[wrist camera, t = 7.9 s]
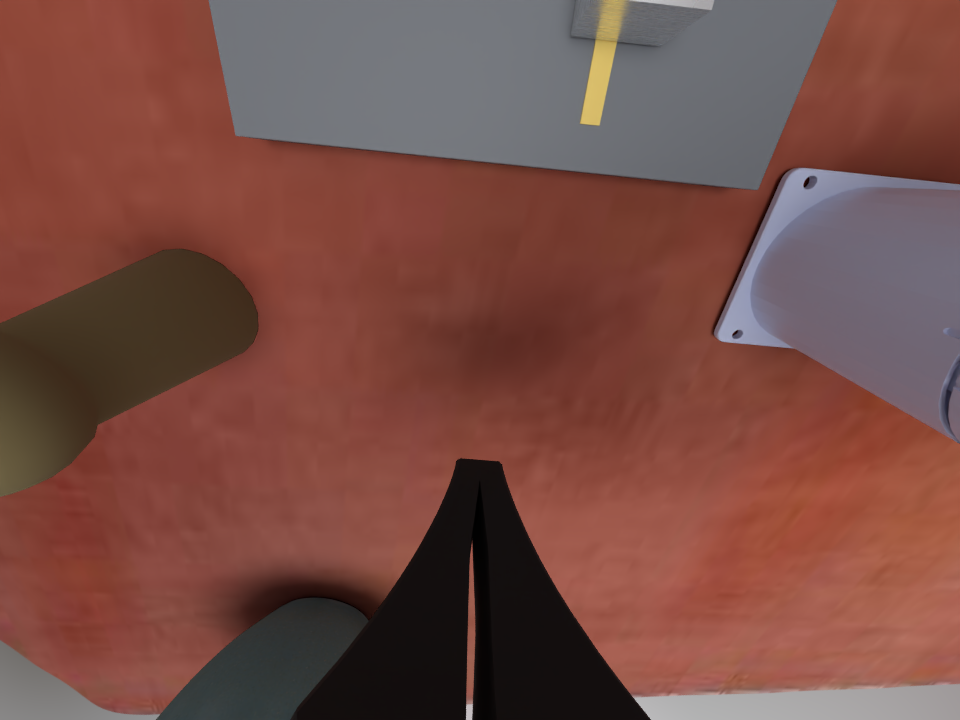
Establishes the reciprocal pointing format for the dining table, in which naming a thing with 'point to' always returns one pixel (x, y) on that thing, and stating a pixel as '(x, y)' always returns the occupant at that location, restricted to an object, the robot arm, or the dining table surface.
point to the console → (521, 83)
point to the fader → (636, 19)
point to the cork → (111, 355)
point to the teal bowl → (270, 664)
